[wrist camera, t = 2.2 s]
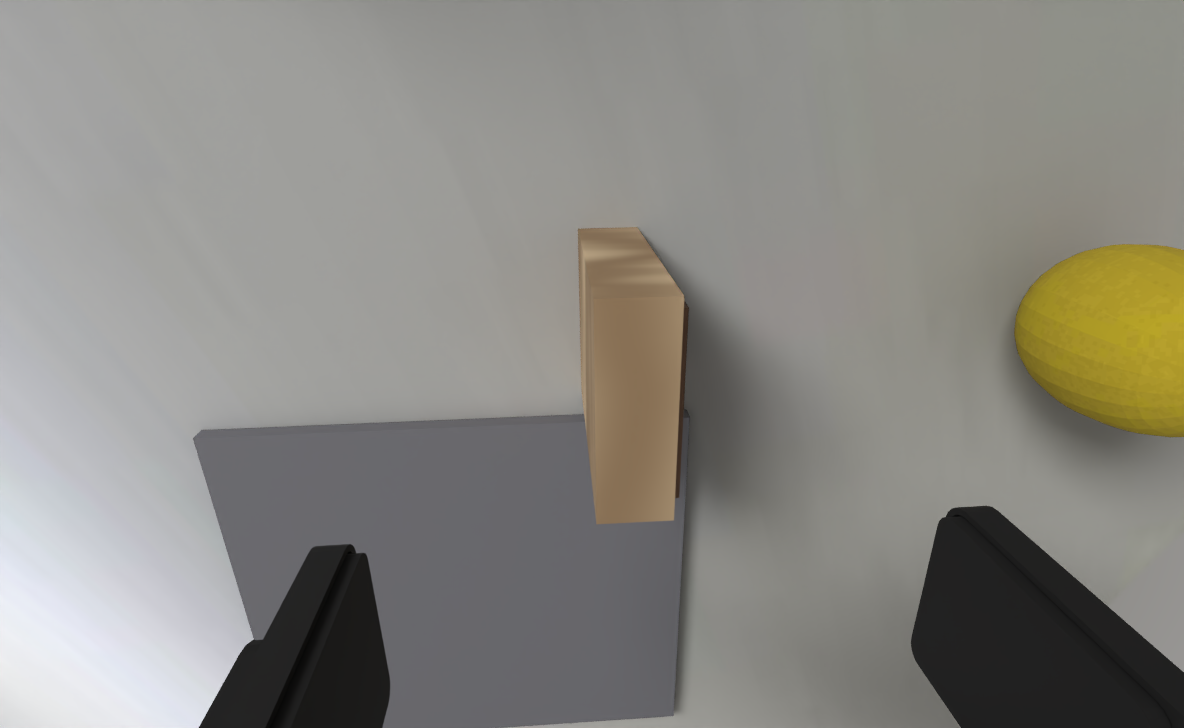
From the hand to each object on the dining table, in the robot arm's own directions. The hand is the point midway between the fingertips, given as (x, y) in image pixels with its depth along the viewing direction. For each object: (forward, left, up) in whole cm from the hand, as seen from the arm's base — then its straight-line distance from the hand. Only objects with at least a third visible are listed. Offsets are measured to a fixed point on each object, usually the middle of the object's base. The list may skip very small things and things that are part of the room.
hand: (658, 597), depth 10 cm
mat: (+6, +12, -13) cm, 18 cm away
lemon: (-16, 0, -13) cm, 21 cm away
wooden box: (0, 0, -13) cm, 13 cm away
